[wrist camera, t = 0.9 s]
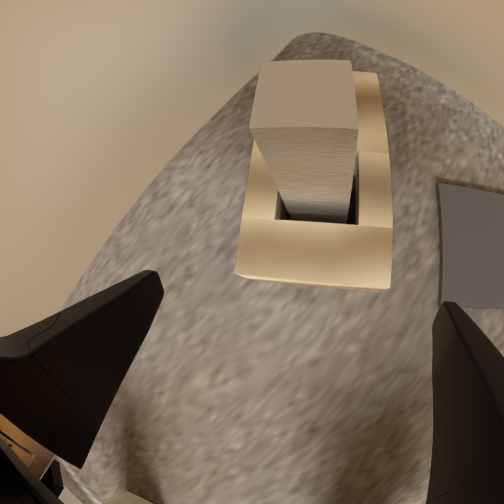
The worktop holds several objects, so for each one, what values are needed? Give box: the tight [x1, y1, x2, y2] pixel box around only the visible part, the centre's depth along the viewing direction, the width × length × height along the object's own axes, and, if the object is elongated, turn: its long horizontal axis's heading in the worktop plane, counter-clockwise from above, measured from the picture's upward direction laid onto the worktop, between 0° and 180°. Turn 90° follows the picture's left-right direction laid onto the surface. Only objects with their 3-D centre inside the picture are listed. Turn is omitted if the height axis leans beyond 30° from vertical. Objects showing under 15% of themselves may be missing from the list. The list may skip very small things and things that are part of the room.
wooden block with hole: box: [234, 71, 392, 292], centre depth 20 cm, size 18×10×4 cm, turn 174°
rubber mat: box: [436, 183, 504, 308], centre depth 17 cm, size 10×10×1 cm
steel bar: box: [249, 60, 358, 224], centre depth 16 cm, size 4×4×13 cm
